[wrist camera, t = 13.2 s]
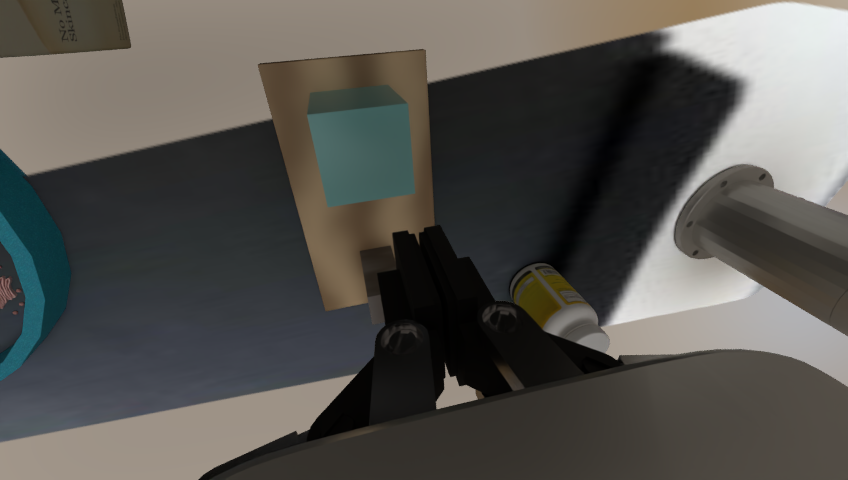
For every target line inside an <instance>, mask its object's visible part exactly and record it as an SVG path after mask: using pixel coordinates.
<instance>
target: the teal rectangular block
mask: <svg viewBox="0 0 848 480" xmlns="http://www.w3.org/2000/svg"><path fill="white" fill-rule="evenodd" d="M307 117H308V122H309V126H310V131H311V135H312V140H313V144H314V148H315V153H316V157H317V162H318V166H319V171H320V175H321V179H322V184H323V188H324V193H325V197H326V202H327V206H328V207H334V206H340V205H346V204H353V203H359V202H365V201H372V200H378V199H384V198H391V197H397V196H403V195H410V194H415V184H414V172H413V159H412V147H411V134H410V122H409V109H408V103H407V102H406V101H405V100H404V99H403V98H402V97H401V96H400V95H398V94H397V93H396V92H395V91H394V90H393V89H392V88H391V87H390V86H389V85H379V86H370V87H360V88H351V89H341V90H331V91H322V92H312V93H310V98H309V105H308V111H307Z"/></svg>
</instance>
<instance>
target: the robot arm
mask: <svg viewBox="0 0 848 480" xmlns="http://www.w3.org/2000/svg"><path fill="white" fill-rule="evenodd" d="M392 238H393V246H394V254H395V261H396V270H390V271H384V272H379V273H377V277H378V283H379V290H380V296H381V302H382V308H383V314H384V319H385V326H384V327H383V328H382V329H381V330H380V331H379V332H378V334H377V336H376V340H375V350H374V357H373V358H372V359H371V360H370V361H369V362H368V363H367V364H366V366H365V367H364V368H363V369H362V370H361V371H360V372H359V373H358V374H357V375H356V376H355V378H354V379H353V380H352V381H351V382H350V383H349V384H348V385H347V386H346V387H345V388H344V389H343V391H342V392H341V393H340V394H339V395H338V396H337V397H336V398H335V399H334V400H333V401H332V403H331V404H330V405H329V406H328V407H327V408H326V409H325V410H324V411H323V412H322V413H321V414H320V415H319V417H318V418H317V419H316V420H315V422H314V423H313V424H312V426H311V428H310V430H308V431H305V432H303V433H301V434H299V435H298V434H297V432H296V431H295V432H292V433H290V434H288V435H286V436H284V437H281V438H279V439H277V440H275V441H272V442H270V443H268V444H266V445H264V446H261V447H259V448H257V449H255V450H253V451H251V452H248V453H246V454H244V455H242V456H239V457H237V458H235V459H233V460H230V461H228V462H226V463H224V464H221V465H220V466H217V467H215V468H213V469H212V470H210V471H209V472H207V473H205V474H204V475H203V476H202V477H201V478H200V479H199V480H848V387H847V386H845V385H844V384H842V383H841V382H839V381H837V380H836V379H834V378H832V377H831V376H829V375H827V374H825V373H824V372H822V371H820V370H819V369H817V368H815V367H813V366H811V365H809V364H807V363H805V362H802V361H800V360H797V359H794V358H791V357H787V356H783V355H779V354H775V353H769V352H763V351H754V350H742V349H715V350H704V351H695V352H689V353H683V354H676V355H623V356H622V355H620V356H619V358H618V360H615V359H614V358H613V357H611V356H609V355H607V354H605V353H603V352H600V351H597V350H595V349H592V348H589V347H586V346H584V345H581V344H578V343H575V342H573V341H570V340H567V339H564V338H561V337H559V336H556V335H553V334H550V333H548V332H545V331H544V330H543V329H542V328H541V327H540V326H539V325H538V324H537V323H536V322H535V320H534V319H533V318H532V317H531V316H530V315H529V314H528V313H527V312H526V311H525V310H524V309H523V308H522V307H520V306H519V305H517V304H515V303H512V302H508V301H495V300H494V298H493V296H492V295H491V293H490V291H489V290H488V288H487V286H486V285H485V283H484V281H483V279H482V278H481V276H480V274H479V273H478V271H477V269H476V267H475V266H474V264H473V262H472V261H471V259H470V258H469V257H464V258H457V256H456V254H455V252H454V251H453V249H452V247H451V245H450V243H449V241H448V239H447V237H446V236H445V234H444V232H443V230H442V228H441V226H440V225H437V226H430V227H424V232H419V243H418V241H417V238H416V236H415V233H412V234H409V232H408V230H405V231H399V232H393V233H392ZM675 240H676V244H677V247H678V248H679V250H680V251H682V252H683V253H684V254H686V255H687V256H689V257H691V258H695V259H706V258H711V257H716V258H717V259H719V260H721V261H722V262H724V263H726V264H727V265H729V266H731V267H732V268H734V269H736V270H737V271H739V272H741V273H743V274H744V275H746V276H748V277H749V278H751V279H753V280H754V281H756V282H758V283H759V284H761V285H763V286H764V287H766V288H768V289H769V290H771V291H773V292H774V293H776V294H778V295H779V296H781V297H783V298H784V299H786V300H788V301H789V302H791V303H793V304H794V305H796V306H798V307H799V308H801V309H803V310H805V311H806V312H808V313H809V314H811V315H813V316H815V317H816V318H818V319H820V320H821V321H823V322H825V323H827V324H828V325H830V326H832V327H833V328H835V329H837V330H838V331H840V332H842V333H843V334H845V335H847V336H848V215H845V214H843V213H840V212H837V211H835V210H832V209H829V208H826V207H824V206H821V205H818V204H816V203H813V202H810V201H807V200H805V199H803V198H800V197H796V196H794V195H791V194H788V193H785V192H783V191H780V190H777V189H774V182H773V179H772V176H771V175H770V173H769V172H768V171H766V170H765V169H763V168H760V167H757V166H754V165H741V166H736V167H733V168H730V169H728V170H726V171H724V172H722V173H720V174H718V175H717V176H715V177H714V178H712V179H711V180H709V181H708V182H707V183H706V184H705V185H704V186H702V187H701V188H700V189H699V190H698V191H697V192H696V194H695V195H694V196H693V197H692V198H691V199H690V201H689V202H688V204H687V205H686V206H685V208H684V210H683V212H682V213H681V215H680V218H679V220H678V223H677V227H676V231H675ZM445 364H446V367H447V370H448V373H449V375H450V377H453V376H456V378H457V381H458V384H459V386H463V385H468V386H470V387H472V388H474V389H476V396H477V398H478V400H474V401H471V402H466V403H462V404H457V405H453V406H449V407H445V408H441V409H436V401H437V399H438V398H439V396H440V395H441V393H442V392H443V390H444V378H445Z"/></svg>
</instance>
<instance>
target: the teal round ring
mask: <svg viewBox="0 0 848 480" xmlns="http://www.w3.org/2000/svg"><path fill="white" fill-rule="evenodd" d="M25 175H26V174H25V173H24V172H23V171H22V170H21V169H20V168H19V167H18V166H17V165H16V164H15V163H14V162H13V161H12V160H11V159H10V158H9V157H8V156H7V155H6V154H5V153H4V152H3V151H2V150H1V149H0V241H1V243H2V244H3V245H4V247H5V248H6V249H7V251H8V252H9V254H10V255H11V256H12V259H13V262H14V264H15V267H16V270H17V273H18V276H19V279H20V282H21V285H22V288H23V291H24V294H25V297H26V300H25V310H24V320H23V329H22V334H21V335H20V337H19V338H18V340H17V341H16V343H15V344H13V345H12V346H11V347H9V348H8V349H6V350H5V351H4V352H2V353H0V381H1V380H3V379H4V378H5V377H7V376H8V375H10V374H11V373H12V372H14V371H15V370H17V369H18V368H20V367H21V365H22V364H23V363H24V362H25V361H26V360H27V359H28V357H29V356H30V355H31V354H32V353H33V352H34V351H35V349H36V348H37V347H38V346H39V345H40V344H41V343H42V341H43V340H44V339H45V338H46V337H47V335H48V334H49V332H50V331H51V329H52V328H53V326H54V325H55V323H56V322H57V321H58V319H59V318H60V316H61V315H62V313H63V312H64V310H65V309H66V304H67V297H68V291H69V285H70V279H71V270H70V266H69V262H68V259H67V255H66V251H65V247H64V243H63V239H62V235H61V232H60V230H59V229H58V227H57V226H56V224H55V222H54V221H53V219H52V218H51V216H50V215H49V213H48V211H47V210H46V208H45V207H44V205H43V203H42V202H41V200H40V199H39V197H38V195H37V194H36V192H35V191H34V189H33V188H32V186H31V185H30V184H29V183H28V182H27V181H26V180H25V179H24V178H23V177H22V176H25ZM1 268H2V267H1V266H0V269H1ZM8 279H9V283H8ZM11 282H12V277H8V278H7V279H6V281H5V276H2V277H0V308H1V309H2V308H4V307H5V306H4V305H5V304H6V303H7V302H8V299H9V300H12V299H13V298H15V297H16V296H17V294H16V292H21V289H17V290H16V292H15V291H14V290H13V289H12V287H11ZM19 305H20V306H23V305H24V303H23V302H20V303H19ZM13 314H18V311H14V312H13Z"/></svg>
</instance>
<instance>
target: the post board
mask: <svg viewBox="0 0 848 480" xmlns="http://www.w3.org/2000/svg"><path fill="white" fill-rule="evenodd" d="M258 68H259V71H260V75H261V78H262V82H263V86H264V89H265V93H266V97H267V100H268V104H269V108H270V111H271V115H272V118H273V122H274V126H275V129H276V133H277V137H278V140H279V144H280V147H281V151H282V155H283V158H284V162H285V166H286V169H287V173H288V176H289V180H290V184H291V187H292V191H293V194H294V198H295V202H296V205H297V209H298V213H299V216H300V220H301V223H302V227H303V231H304V234H305V238H306V242H307V245H308V249H309V252H310V256H311V260H312V263H313V267H314V271H315V274H316V278H317V281H318V285H319V289H320V292H321V296H322V300H323V303H324V307H325V310H326V311H329V310H334V309H339V308H344V307H349V306H354V305H358V304H363V303H369V308H370V314H371V319H372V324H378V323H383V322H385V319H384V314H383V308H382V302H381V296H380V290H379V283H378V277H377V273H379V272H384V271H390V270H396V261H395V254H394V246H393V238H392V233H393V232H399V231H405V230H408V232H409V234H412V233H415V236H416V238H417V241H418V243H419V232H424V227H430V226H435V223H434V204H433V185H432V165H431V146H430V127H429V107H428V88H427V70H426V50H424V49H419V50H409V51H396V52H386V53H374V54H363V55H351V56H339V57H328V58H317V59H305V60H294V61H283V62H271V63H260V64H258ZM379 85H389V86H390V87H391V88H392V89H393V90H394V91H395V92H396V93H397V94H398V95H400V96H401V97H402V98H403V99H404V100H405V101H406V102H407V103H408V109H409V122H410V134H411V147H412V159H413V172H414V184H415V194H410V195H403V196H397V197H391V198H384V199H378V200H372V201H365V202H359V203H353V204H346V205H340V206H334V207H328V206H327V202H326V197H325V193H324V188H323V184H322V179H321V175H320V171H319V166H318V162H317V157H316V153H315V148H314V144H313V140H312V135H311V131H310V126H309V122H308V117H307V111H308V105H309V98H310V93H312V92H322V91H331V90H341V89H351V88H360V87H370V86H379Z"/></svg>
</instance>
